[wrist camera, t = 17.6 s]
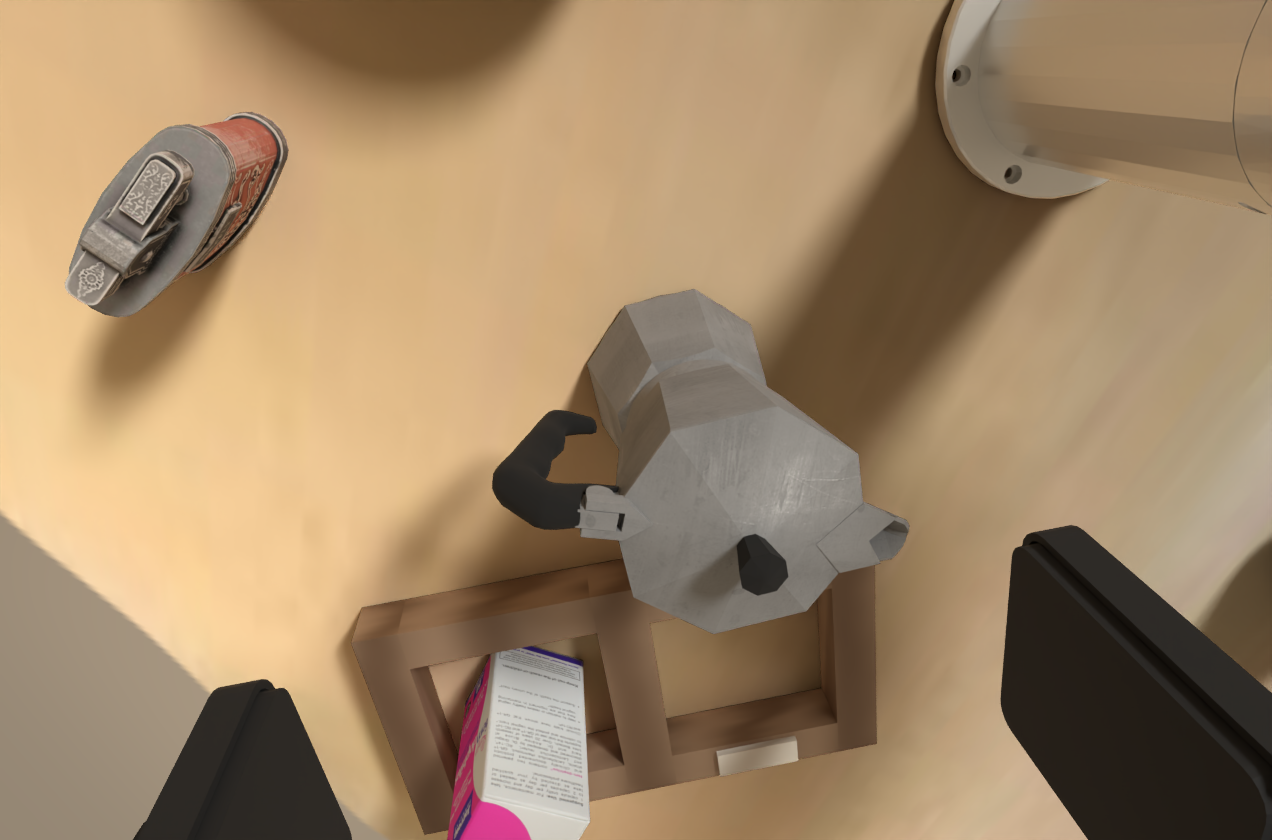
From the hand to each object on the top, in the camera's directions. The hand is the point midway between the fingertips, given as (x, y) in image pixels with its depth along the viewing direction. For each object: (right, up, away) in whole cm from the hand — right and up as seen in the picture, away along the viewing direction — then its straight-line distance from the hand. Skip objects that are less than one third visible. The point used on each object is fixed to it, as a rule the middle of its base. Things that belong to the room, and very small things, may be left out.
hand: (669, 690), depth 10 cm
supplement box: (-8, -13, +39) cm, 41 cm away
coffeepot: (0, +6, +31) cm, 32 cm away
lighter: (-19, +14, +25) cm, 34 cm away
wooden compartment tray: (-1, -12, +39) cm, 41 cm away
